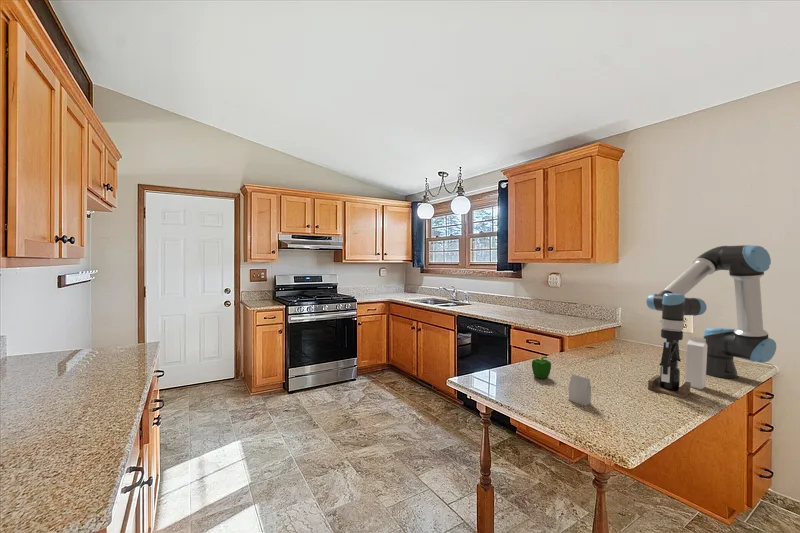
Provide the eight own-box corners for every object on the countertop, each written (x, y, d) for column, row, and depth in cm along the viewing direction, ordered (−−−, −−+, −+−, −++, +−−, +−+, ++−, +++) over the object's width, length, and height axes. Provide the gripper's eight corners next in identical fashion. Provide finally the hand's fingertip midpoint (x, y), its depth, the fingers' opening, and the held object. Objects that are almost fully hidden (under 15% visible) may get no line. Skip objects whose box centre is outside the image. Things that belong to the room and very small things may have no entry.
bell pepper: (530, 378, 168) (531, 357, 168) (531, 373, 176) (532, 352, 176) (550, 381, 165) (551, 359, 165) (550, 376, 173) (551, 355, 173)
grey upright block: (585, 405, 138) (586, 379, 138) (568, 399, 144) (569, 374, 143) (590, 403, 140) (591, 378, 140) (573, 398, 146) (574, 373, 146)
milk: (701, 389, 160) (704, 339, 159) (684, 385, 165) (687, 337, 164) (705, 386, 164) (708, 338, 163) (688, 382, 169) (691, 335, 168)
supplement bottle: (675, 386, 160) (677, 359, 159) (681, 392, 153) (683, 363, 153) (657, 384, 162) (658, 357, 162) (662, 389, 155) (663, 361, 155)
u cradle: (655, 383, 166) (656, 374, 166) (690, 391, 157) (690, 382, 157) (647, 389, 158) (648, 380, 158) (683, 398, 149) (684, 388, 149)
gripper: (668, 325, 168) (666, 370, 169) (653, 331, 151) (650, 382, 152) (689, 327, 162) (687, 375, 163) (675, 334, 146) (672, 387, 146)
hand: (669, 378), depth 157 cm, fingers open, 13 cm apart
